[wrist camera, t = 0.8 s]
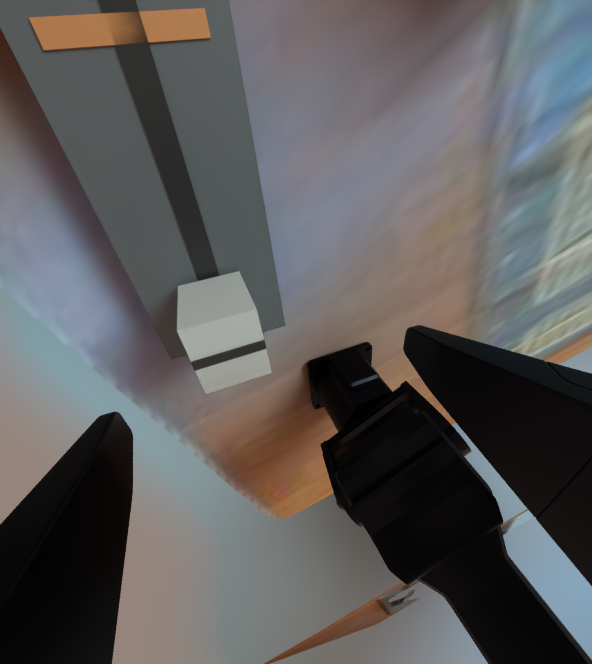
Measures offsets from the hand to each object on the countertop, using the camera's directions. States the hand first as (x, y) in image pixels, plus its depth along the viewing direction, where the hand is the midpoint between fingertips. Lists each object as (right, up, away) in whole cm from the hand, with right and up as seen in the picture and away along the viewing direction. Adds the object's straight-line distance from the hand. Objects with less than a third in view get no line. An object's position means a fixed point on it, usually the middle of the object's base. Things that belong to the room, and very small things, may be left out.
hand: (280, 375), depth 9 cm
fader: (-4, +3, +9) cm, 10 cm away
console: (-6, +9, +7) cm, 13 cm away
